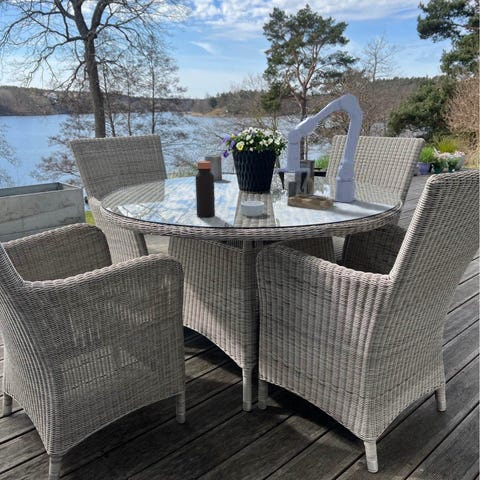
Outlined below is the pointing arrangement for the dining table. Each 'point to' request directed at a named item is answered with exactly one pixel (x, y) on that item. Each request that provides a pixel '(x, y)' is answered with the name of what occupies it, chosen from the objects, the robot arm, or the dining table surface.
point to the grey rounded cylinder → (292, 188)
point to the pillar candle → (215, 166)
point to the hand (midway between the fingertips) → (292, 189)
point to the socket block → (310, 202)
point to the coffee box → (309, 181)
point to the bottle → (205, 190)
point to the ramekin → (252, 208)
